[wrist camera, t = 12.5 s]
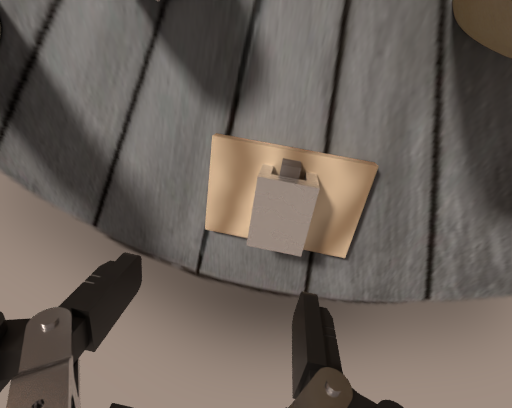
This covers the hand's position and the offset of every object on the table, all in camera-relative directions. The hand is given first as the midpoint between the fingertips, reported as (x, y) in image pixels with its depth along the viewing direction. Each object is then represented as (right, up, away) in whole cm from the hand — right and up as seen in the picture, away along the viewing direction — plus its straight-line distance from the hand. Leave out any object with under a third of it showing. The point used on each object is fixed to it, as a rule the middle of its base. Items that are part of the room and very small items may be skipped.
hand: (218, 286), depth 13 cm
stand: (+5, +5, +19) cm, 21 cm away
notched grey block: (+5, +4, +18) cm, 19 cm away
